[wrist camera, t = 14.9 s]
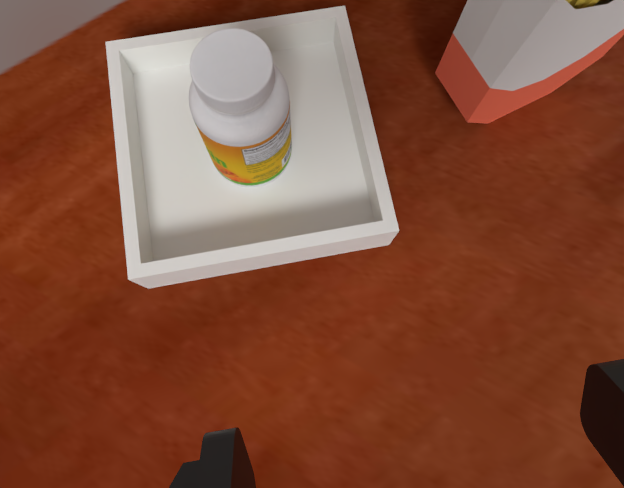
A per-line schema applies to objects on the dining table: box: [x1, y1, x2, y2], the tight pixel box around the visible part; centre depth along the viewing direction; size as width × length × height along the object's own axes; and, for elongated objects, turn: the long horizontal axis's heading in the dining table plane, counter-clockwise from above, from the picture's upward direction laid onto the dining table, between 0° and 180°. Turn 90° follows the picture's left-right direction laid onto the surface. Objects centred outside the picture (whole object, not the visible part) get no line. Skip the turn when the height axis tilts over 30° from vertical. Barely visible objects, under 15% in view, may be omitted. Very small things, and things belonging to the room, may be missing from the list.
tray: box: [106, 6, 399, 289], centre depth 31 cm, size 16×16×4 cm
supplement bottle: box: [189, 28, 292, 187], centre depth 27 cm, size 5×5×10 cm
